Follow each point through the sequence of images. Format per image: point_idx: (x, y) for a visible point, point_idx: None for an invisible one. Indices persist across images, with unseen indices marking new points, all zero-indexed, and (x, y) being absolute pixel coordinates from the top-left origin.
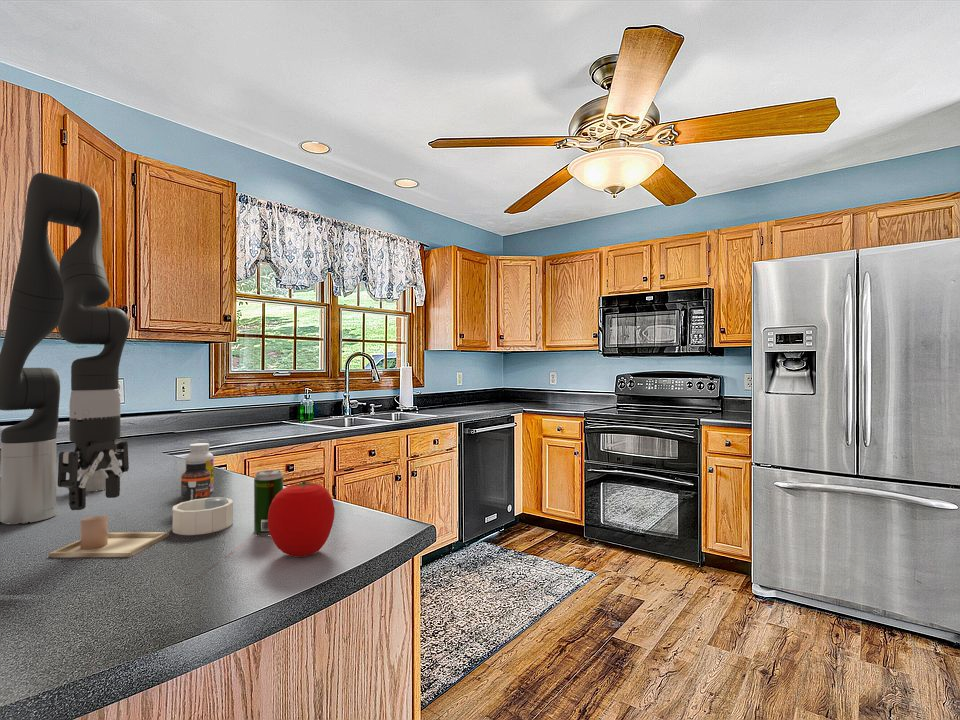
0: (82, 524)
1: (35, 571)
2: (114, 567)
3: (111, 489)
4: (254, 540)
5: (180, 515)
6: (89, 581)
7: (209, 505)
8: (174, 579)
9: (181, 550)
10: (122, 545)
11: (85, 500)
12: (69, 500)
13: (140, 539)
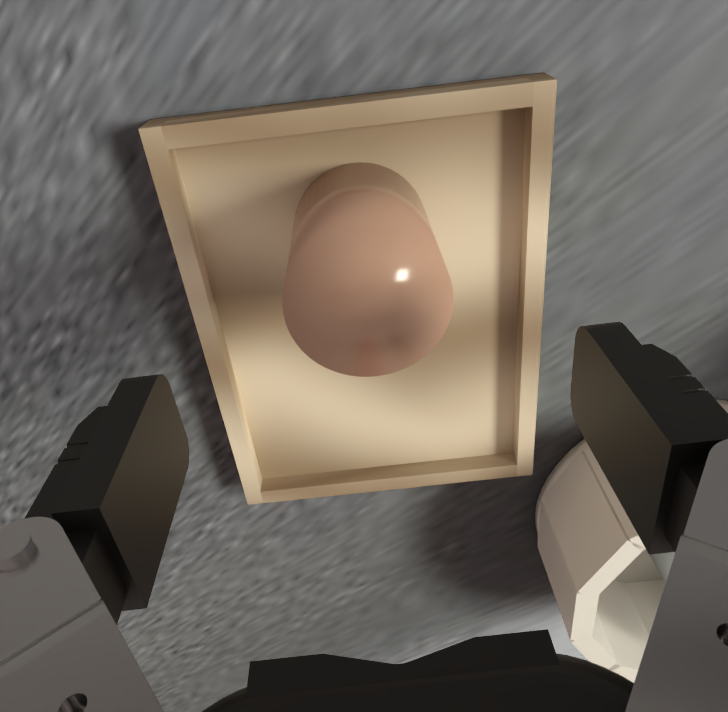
0: (286, 275)
1: (9, 202)
2: None
3: (605, 414)
4: None
5: (574, 570)
6: (34, 499)
7: None
8: (144, 674)
9: (378, 570)
10: None
11: (176, 503)
12: (61, 457)
13: (475, 382)
